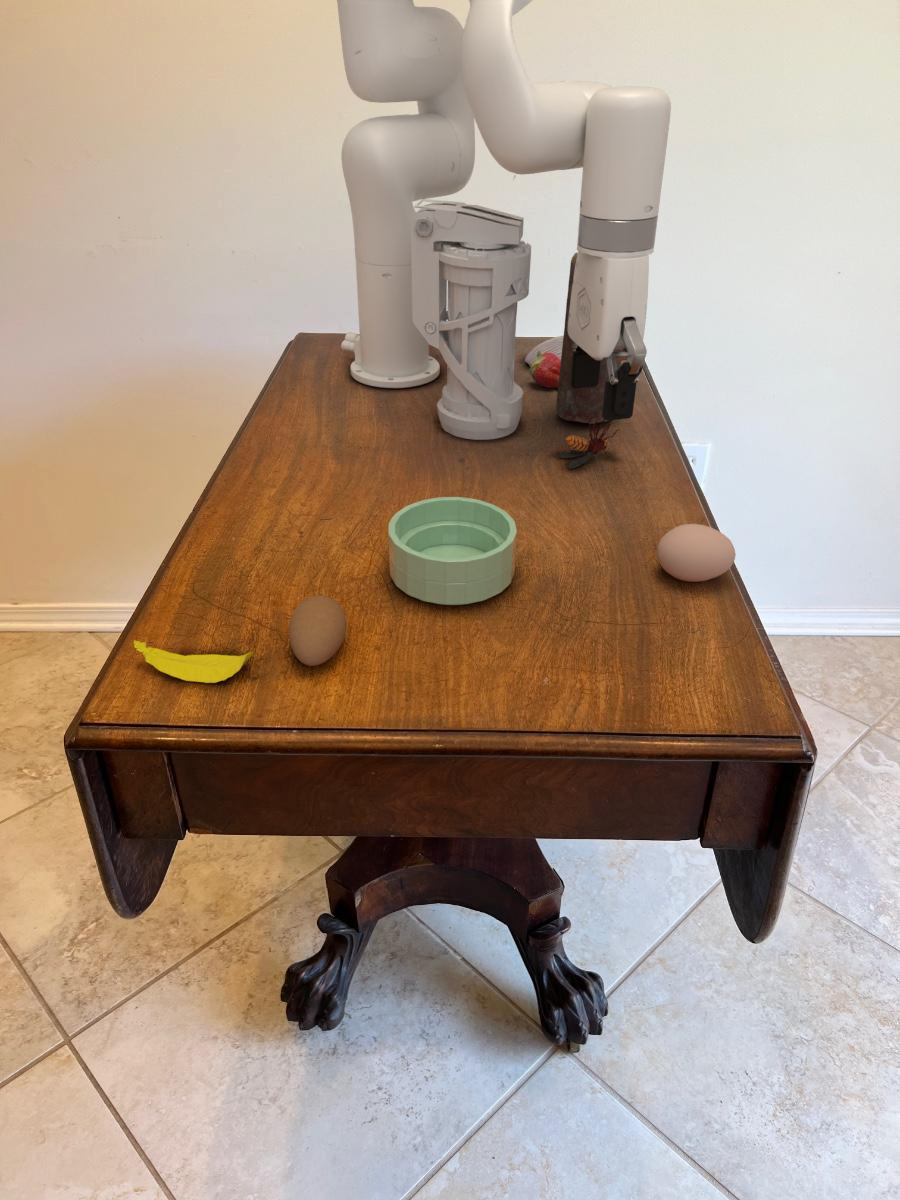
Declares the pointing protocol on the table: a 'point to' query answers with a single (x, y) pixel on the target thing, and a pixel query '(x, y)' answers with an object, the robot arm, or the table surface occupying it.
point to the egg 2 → (695, 552)
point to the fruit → (546, 370)
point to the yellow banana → (193, 664)
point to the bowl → (452, 550)
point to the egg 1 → (317, 629)
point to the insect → (585, 446)
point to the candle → (570, 400)
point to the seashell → (546, 349)
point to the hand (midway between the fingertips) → (599, 401)
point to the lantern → (471, 310)
